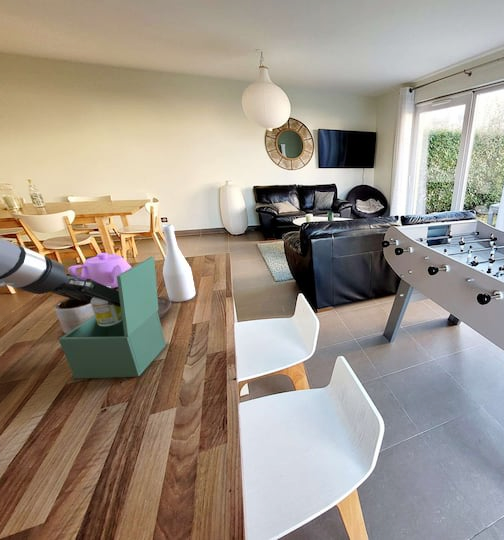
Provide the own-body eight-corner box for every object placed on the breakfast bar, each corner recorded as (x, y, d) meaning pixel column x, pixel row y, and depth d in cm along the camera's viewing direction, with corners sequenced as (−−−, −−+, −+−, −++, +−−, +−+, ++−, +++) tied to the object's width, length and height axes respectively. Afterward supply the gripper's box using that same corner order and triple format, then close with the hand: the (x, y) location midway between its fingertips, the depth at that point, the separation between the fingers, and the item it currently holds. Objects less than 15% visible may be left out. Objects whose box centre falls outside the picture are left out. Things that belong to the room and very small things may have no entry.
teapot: (90, 304, 109) (78, 268, 103) (69, 291, 118) (56, 257, 112) (147, 286, 125) (139, 254, 119) (125, 276, 134) (116, 245, 128)
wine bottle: (184, 304, 112) (168, 229, 101) (163, 301, 114) (145, 227, 102) (201, 293, 121) (188, 223, 110) (181, 291, 122) (166, 221, 111)
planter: (54, 332, 92) (43, 306, 88) (91, 315, 102) (83, 291, 98) (80, 338, 90) (70, 312, 86) (115, 320, 100) (107, 296, 96)
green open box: (74, 378, 74) (58, 339, 70) (111, 346, 87) (99, 311, 82) (138, 376, 76) (126, 338, 71) (166, 345, 89) (157, 310, 84)
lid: (116, 275, 65) (120, 276, 65) (151, 256, 78) (154, 256, 78) (124, 336, 71) (128, 336, 71) (155, 309, 84) (158, 309, 84)
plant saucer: (144, 332, 94) (142, 324, 93) (98, 325, 97) (95, 317, 96) (183, 306, 111) (182, 299, 109) (143, 301, 113) (141, 294, 112)
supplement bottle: (105, 329, 73) (94, 295, 70) (93, 323, 75) (82, 291, 72) (128, 319, 78) (119, 287, 74) (116, 314, 80) (107, 283, 76)
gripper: (-25, 285, 56) (82, 315, 78) (63, 291, 56) (146, 319, 77) (-4, 251, 59) (94, 289, 81) (81, 257, 59) (156, 293, 80)
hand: (119, 304), depth 79 cm, fingers closed on supplement bottle, 5 cm apart
